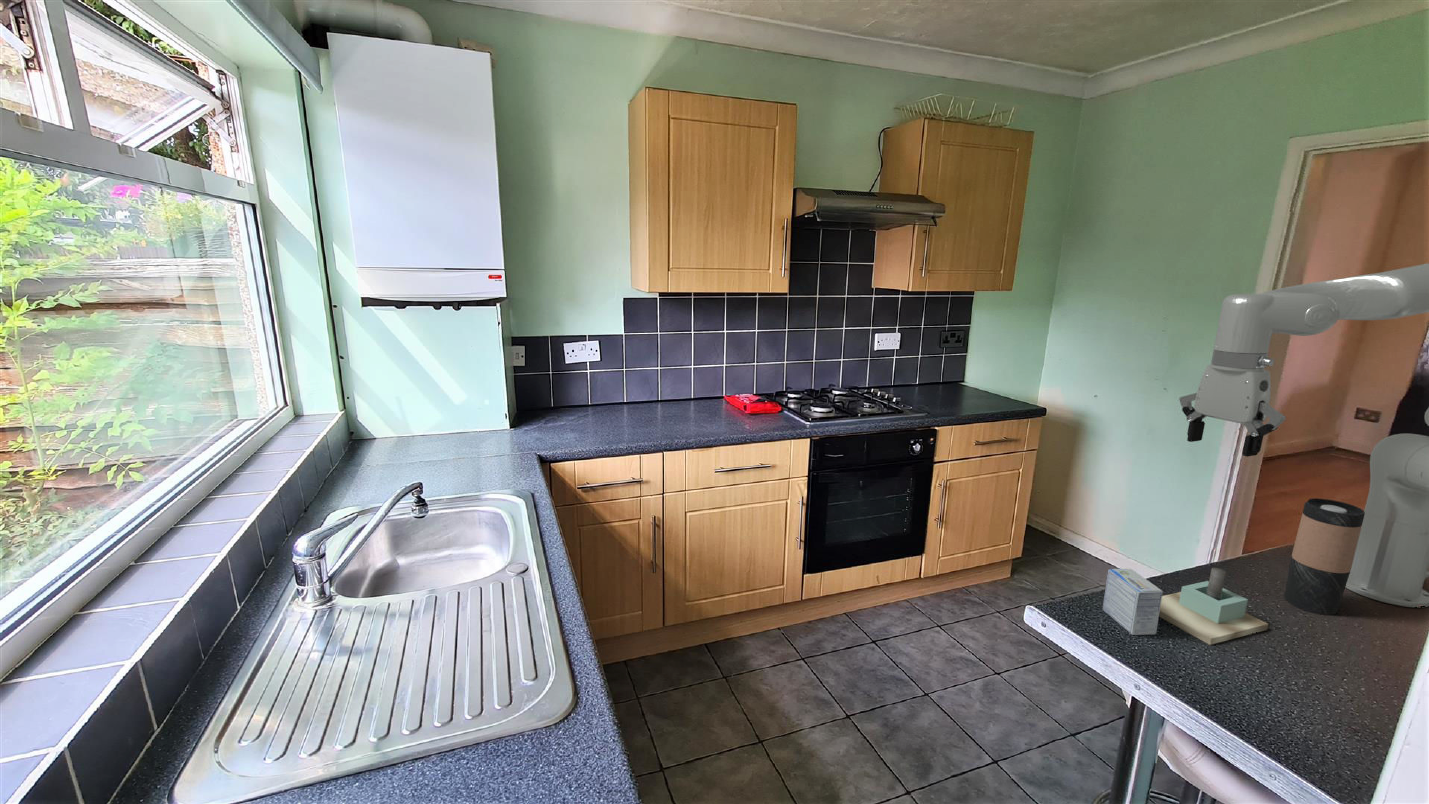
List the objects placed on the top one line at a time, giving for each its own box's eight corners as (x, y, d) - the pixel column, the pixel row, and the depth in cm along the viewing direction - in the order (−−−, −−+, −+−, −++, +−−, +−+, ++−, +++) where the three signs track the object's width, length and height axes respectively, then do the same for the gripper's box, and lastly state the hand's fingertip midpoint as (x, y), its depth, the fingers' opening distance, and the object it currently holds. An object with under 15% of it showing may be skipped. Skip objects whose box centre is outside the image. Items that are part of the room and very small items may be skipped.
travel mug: (1351, 618, 104) (1379, 516, 100) (1301, 613, 106) (1326, 513, 101) (1317, 595, 111) (1342, 499, 107) (1271, 591, 113) (1293, 496, 108)
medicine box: (1156, 635, 100) (1164, 591, 98) (1131, 636, 100) (1138, 591, 98) (1124, 609, 108) (1131, 567, 106) (1101, 609, 108) (1107, 568, 106)
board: (1194, 593, 112) (1202, 551, 110) (1266, 629, 101) (1277, 582, 99) (1140, 606, 108) (1148, 562, 106) (1209, 644, 97) (1220, 596, 95)
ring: (1204, 597, 109) (1207, 580, 108) (1244, 617, 103) (1247, 599, 102) (1178, 603, 107) (1182, 586, 106) (1217, 623, 101) (1221, 605, 100)
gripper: (1309, 367, 100) (1288, 459, 104) (1202, 353, 117) (1187, 434, 120) (1280, 369, 98) (1259, 463, 102) (1175, 355, 114) (1161, 437, 118)
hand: (1220, 447), depth 111 cm, fingers open, 9 cm apart
